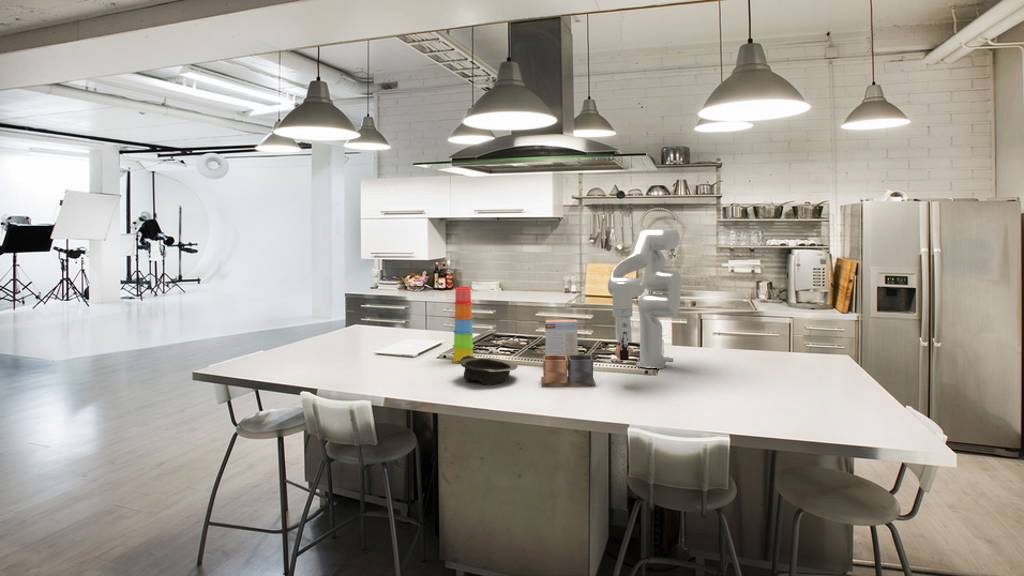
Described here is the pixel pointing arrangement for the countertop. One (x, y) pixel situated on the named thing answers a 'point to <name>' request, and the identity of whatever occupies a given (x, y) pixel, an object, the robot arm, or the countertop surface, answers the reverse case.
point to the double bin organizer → (577, 371)
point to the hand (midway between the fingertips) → (622, 357)
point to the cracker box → (561, 337)
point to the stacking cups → (463, 324)
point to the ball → (619, 351)
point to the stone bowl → (486, 369)
